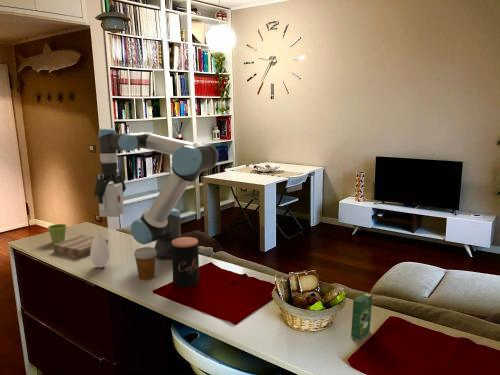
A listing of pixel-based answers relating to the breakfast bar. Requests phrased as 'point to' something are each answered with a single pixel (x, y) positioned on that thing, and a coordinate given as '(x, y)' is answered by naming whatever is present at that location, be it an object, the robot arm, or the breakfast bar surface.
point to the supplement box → (113, 201)
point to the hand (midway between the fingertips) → (111, 207)
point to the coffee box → (361, 316)
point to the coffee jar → (185, 261)
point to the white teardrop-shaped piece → (99, 251)
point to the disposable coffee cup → (145, 262)
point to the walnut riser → (75, 246)
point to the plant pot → (57, 232)
